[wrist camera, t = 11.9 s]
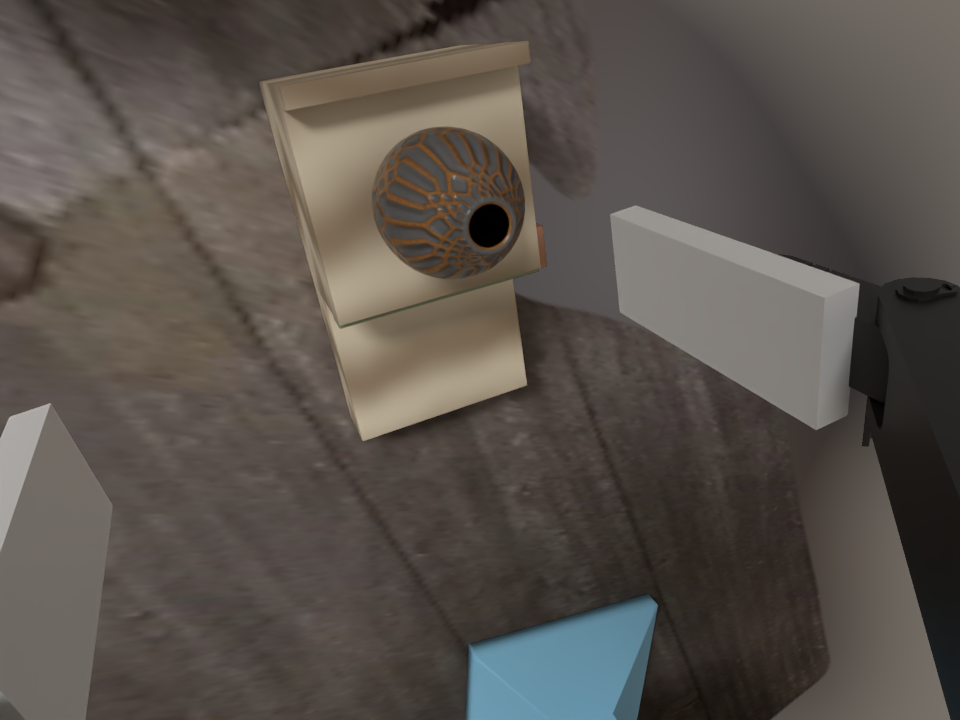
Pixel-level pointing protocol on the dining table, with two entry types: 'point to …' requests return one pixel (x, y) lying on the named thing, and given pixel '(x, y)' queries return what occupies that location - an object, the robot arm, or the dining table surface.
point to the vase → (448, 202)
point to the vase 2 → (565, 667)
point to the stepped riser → (365, 256)
